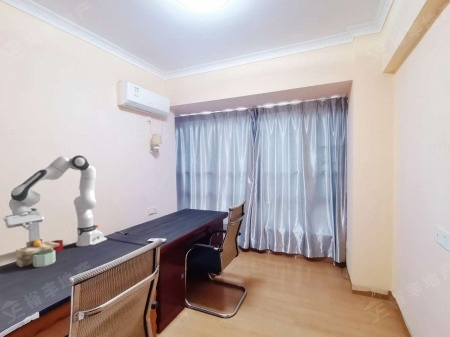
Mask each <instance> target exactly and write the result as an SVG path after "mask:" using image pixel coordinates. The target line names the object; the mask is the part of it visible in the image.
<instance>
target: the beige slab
mask: <svg viewBox="0 0 450 337" xmlns="http://www.w3.org/2000/svg"><path fill="white" fill-rule="evenodd" d="M57 246H59V243H54V242H51V241H49V240H48V241H44V242H42V244H41V245H40V246H38V247H36V246H31V247H27V246H26V247H22V248H19V249H18V248H17V249H15V251H16V252H15V254H16V255H15V256H16V266H18V267H21V268H22V267H25V266H29V265H31V263H32V264H33V254H35V253H36V252H40V251H43V250H51V249H52V250H53V248H54V247H57Z"/></svg>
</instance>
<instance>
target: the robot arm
mask: <svg viewBox="0 0 450 337" xmlns="http://www.w3.org/2000/svg"><path fill="white" fill-rule="evenodd" d="M69 169H72V170H75V171H80V179H79V188H78V189H79V193H80V194H79V196H76V197H75V198H74V200H73V205H74V207H75V213H76V216H77V217H76V218H77V228H76V231H77V232H76V233H77V240H76V243H75V246H76V247H87V246H94V245H96V244H99V243H102V242H104V241H107V240H108V238H107V237H106V236H104V232H102V231H100V230H99V229H98V228H99V225H98V224H94V223H95V222H94V214H93V212H92V210H93V209H94V208H96V206H97V202H98V201H97V200H96V191H95V190H96V189H95V188H96V182H97V181H96V180H97V170H96V167H95V166H93V165H90V164H89V162H88V159H87V158H86V157H85V156H84V155H79V154H78V155H75V156H74V157H72V158H69V157H67V156H64V155H60V156H59V157H57V158H56V159H54V160H53V161H52V162H51V163H50V164H49V165H48V166H47V167H45V168H43V169H40V170H38V171H36V172H35V173H33V174H32V175H31V176H30V177H29V178H28V179H26V180H25V181H24V182H22V183H21V184H19V185H17V186H16V187H14V188H13V189H12V191H11V193H10V196H11V197H12V198H11V200H10V202H9V205H8V207H9V209H10V210H11V214H10V215H5V216H4V217H3V221H4V223H5V227H6V228H7V229H12V228H16V227H22V228H24V229H25V230H26V231H27V230H28V231H29V223H35V222H39V223H42V222H43V221H44V219H45V217H44V216H43V214H42V213H41V211H39V209H38V208H34V207H32V206H34V205H36V204H37V203H39V201H40V199H41V194H40V193H39V192H36V191H35V190H32V188H33V187H35V186H36V185H37V184H38V183H39V182H41V181H44V180H51V181H55V180H58V179H60V178H61V177H62V176H63V175H64V174H65V173H66V172H67V171H68V170H69Z"/></svg>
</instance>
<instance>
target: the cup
mask: <svg viewBox="0 0 450 337" xmlns="http://www.w3.org/2000/svg"><path fill="white" fill-rule="evenodd" d="M56 258H57V257H56V253H55V250H52V249H51V250H43V251H40V252H36V253H35V254H33V263H32V266H33V267H35V268H40V267H47V266H49V265H53V264H54V263H55V262H56V260H57V259H56Z"/></svg>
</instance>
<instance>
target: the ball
mask: <svg viewBox="0 0 450 337" xmlns="http://www.w3.org/2000/svg"><path fill="white" fill-rule="evenodd" d="M40 245H41V241H40V240H37V241H35V242H34V246H36V247H38V246H40Z"/></svg>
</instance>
